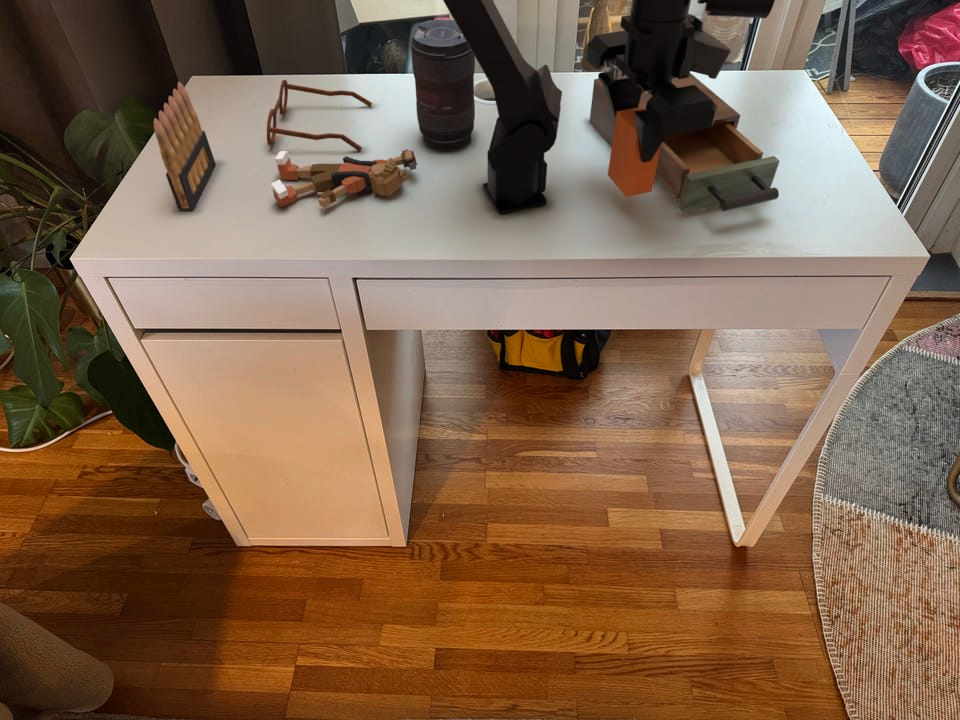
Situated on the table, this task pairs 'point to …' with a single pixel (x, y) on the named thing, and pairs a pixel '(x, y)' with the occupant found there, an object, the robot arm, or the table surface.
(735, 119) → the cabinet
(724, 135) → the drawer
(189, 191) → the ammunition clip
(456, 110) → the camera lens
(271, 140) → the glasses
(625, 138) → the orange rectangular block
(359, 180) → the character figurine
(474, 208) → the table surface
